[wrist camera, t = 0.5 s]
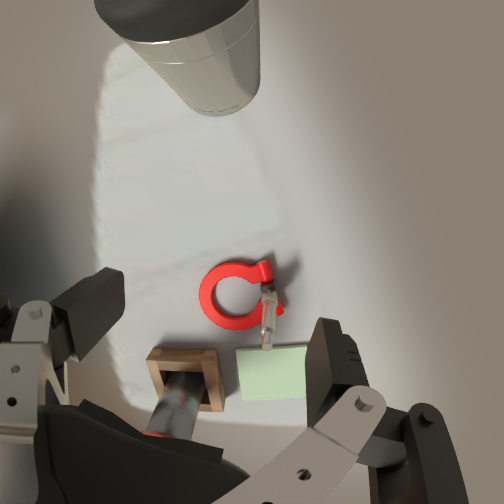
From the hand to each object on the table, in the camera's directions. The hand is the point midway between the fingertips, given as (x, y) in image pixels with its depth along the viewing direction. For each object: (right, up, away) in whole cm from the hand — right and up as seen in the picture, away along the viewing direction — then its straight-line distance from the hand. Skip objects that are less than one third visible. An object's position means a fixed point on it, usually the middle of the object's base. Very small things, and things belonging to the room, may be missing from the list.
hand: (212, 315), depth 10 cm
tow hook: (0, -3, +22) cm, 22 cm away
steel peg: (-7, -15, +25) cm, 30 cm away
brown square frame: (-7, -15, +25) cm, 30 cm away
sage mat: (+4, -14, +24) cm, 28 cm away
